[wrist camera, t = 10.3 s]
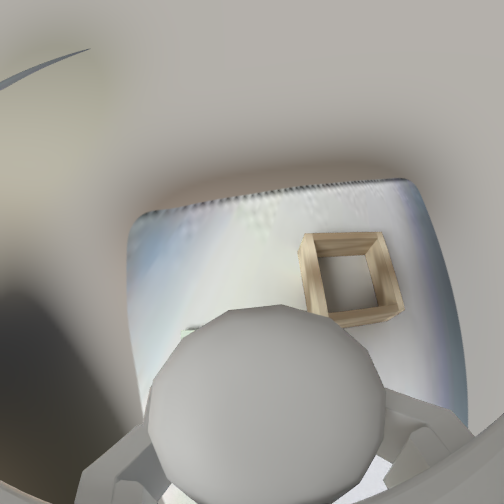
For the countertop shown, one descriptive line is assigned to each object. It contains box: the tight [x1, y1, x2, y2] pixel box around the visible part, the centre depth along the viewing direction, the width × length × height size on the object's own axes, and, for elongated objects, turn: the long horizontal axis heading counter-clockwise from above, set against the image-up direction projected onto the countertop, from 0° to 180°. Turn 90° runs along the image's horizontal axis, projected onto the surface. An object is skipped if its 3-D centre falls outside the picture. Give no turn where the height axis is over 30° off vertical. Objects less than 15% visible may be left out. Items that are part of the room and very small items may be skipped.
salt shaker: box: [148, 304, 386, 504], centre depth 9 cm, size 6×6×13 cm
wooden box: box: [298, 232, 405, 328], centre depth 29 cm, size 10×10×4 cm
